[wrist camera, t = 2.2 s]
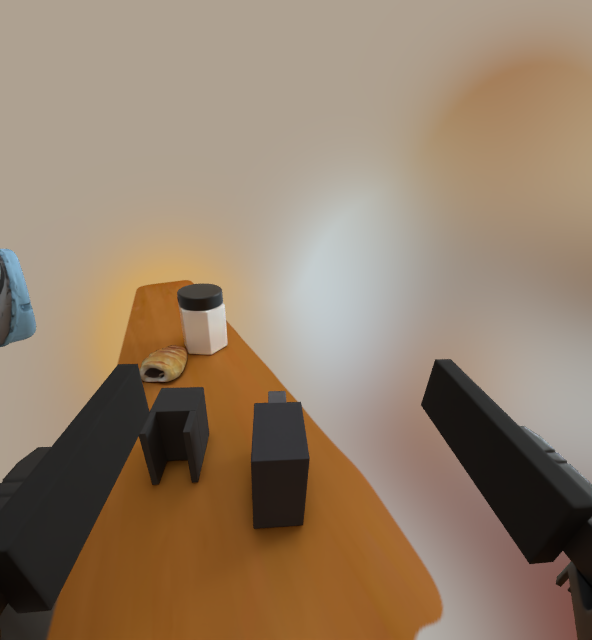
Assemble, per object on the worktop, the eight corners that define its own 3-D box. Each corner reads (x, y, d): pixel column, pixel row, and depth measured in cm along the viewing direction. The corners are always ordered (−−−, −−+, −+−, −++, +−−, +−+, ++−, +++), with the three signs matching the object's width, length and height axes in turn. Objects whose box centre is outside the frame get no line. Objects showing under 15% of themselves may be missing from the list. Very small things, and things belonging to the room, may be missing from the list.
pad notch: (198, 482, 32) (189, 432, 29) (152, 485, 32) (138, 433, 28) (209, 433, 38) (203, 386, 35) (171, 434, 38) (161, 387, 34)
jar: (208, 330, 64) (202, 280, 59) (235, 341, 60) (232, 288, 55) (174, 347, 57) (165, 292, 52) (203, 361, 54) (196, 302, 48)
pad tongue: (303, 525, 29) (309, 458, 24) (253, 529, 28) (250, 461, 24) (294, 443, 38) (298, 383, 33) (256, 445, 37) (255, 384, 33)
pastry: (163, 352, 55) (160, 335, 54) (197, 355, 55) (195, 338, 54) (135, 382, 47) (131, 364, 45) (175, 386, 47) (172, 367, 45)
